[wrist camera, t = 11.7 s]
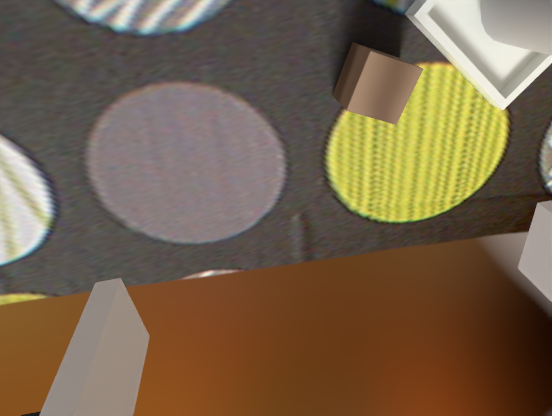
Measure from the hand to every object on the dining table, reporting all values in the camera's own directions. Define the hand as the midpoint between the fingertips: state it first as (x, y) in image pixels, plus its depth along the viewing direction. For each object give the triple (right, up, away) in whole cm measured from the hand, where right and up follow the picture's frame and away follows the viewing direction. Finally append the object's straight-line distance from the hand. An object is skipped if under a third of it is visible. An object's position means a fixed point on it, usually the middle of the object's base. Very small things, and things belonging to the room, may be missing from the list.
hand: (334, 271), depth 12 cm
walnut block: (+7, +15, +24) cm, 29 cm away
